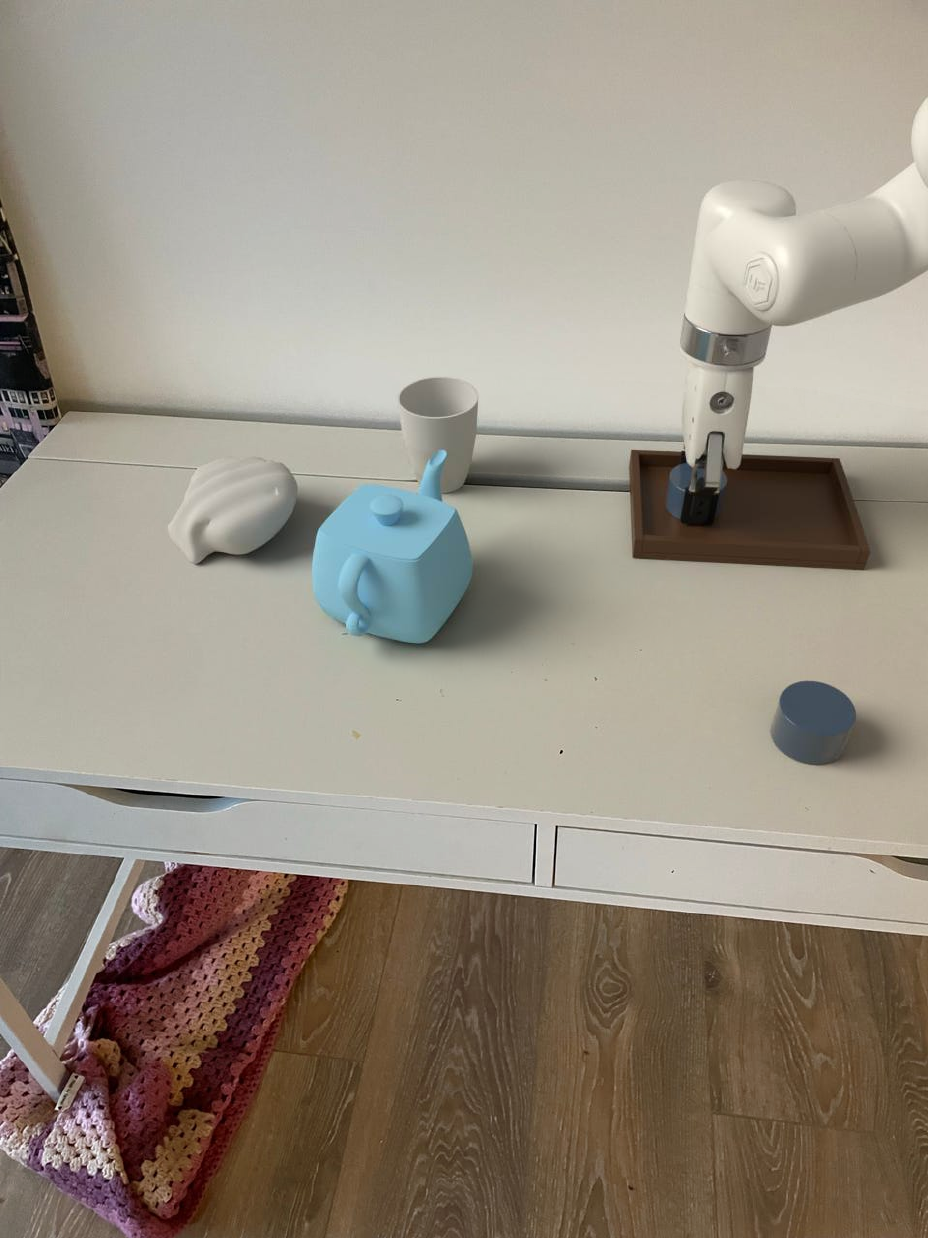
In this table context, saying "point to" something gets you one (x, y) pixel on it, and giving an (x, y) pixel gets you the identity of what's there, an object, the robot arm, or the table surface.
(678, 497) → the blue short cylinder
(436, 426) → the cup
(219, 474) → the shell shaped sculpture
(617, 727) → the table surface
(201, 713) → the table surface
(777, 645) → the table surface
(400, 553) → the teapot
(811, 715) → the blue-grey hockey puck
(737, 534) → the tray
